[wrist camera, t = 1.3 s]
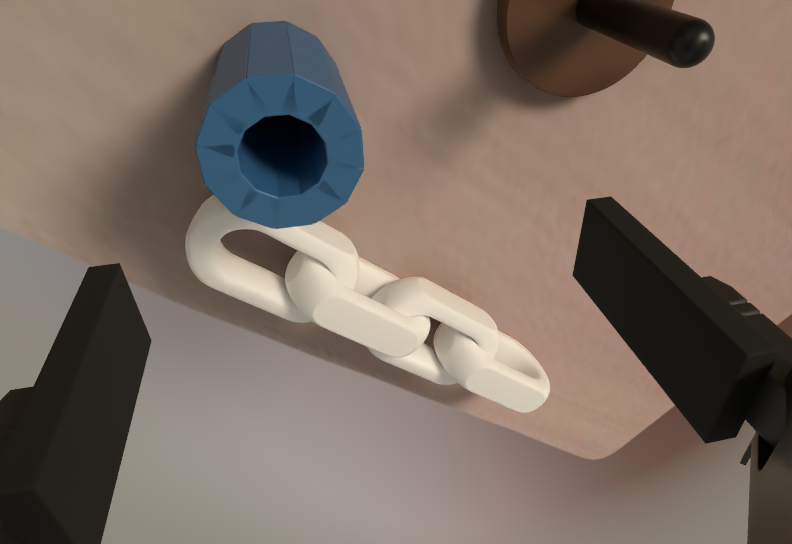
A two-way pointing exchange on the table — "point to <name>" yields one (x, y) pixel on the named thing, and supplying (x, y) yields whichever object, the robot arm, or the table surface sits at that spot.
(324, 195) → the towel roll
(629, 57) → the stand base
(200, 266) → the chain
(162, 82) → the table surface
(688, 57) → the stand post
